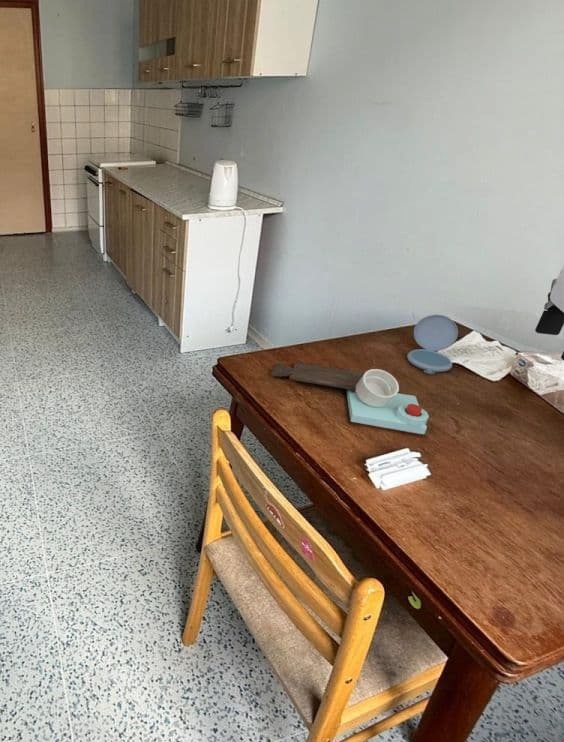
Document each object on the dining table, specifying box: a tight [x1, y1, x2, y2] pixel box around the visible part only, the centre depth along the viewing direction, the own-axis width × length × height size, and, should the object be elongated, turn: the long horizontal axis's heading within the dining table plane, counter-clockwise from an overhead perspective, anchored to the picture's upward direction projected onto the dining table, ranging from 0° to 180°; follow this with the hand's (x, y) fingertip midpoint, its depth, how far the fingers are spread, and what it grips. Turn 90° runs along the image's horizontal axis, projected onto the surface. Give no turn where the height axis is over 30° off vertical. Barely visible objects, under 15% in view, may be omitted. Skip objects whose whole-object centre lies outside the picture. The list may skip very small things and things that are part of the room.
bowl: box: [356, 368, 400, 407], centre depth 103 cm, size 7×7×5 cm
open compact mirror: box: [406, 314, 459, 375], centre depth 120 cm, size 10×11×15 cm
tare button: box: [406, 404, 423, 417], centre depth 99 cm, size 3×3×2 cm
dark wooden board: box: [270, 362, 365, 390], centre depth 114 cm, size 26×2×10 cm
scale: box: [346, 389, 430, 435], centre depth 104 cm, size 14×12×4 cm
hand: (559, 346), depth 76 cm, fingers open, 9 cm apart
